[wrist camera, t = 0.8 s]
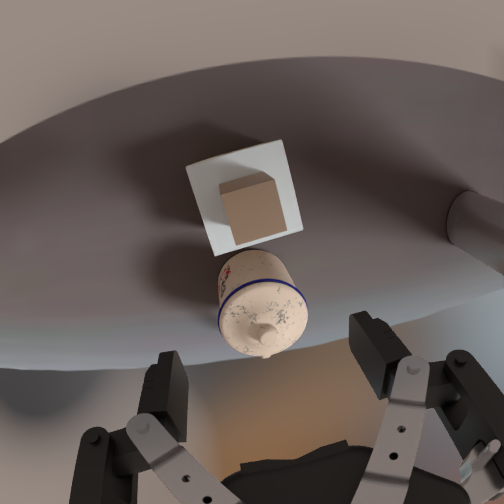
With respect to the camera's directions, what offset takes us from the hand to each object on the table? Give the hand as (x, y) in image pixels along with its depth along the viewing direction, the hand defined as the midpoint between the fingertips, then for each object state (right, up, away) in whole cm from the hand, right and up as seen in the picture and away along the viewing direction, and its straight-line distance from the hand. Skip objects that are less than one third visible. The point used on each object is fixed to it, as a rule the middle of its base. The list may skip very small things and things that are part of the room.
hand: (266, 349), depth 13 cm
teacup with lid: (0, 0, +25) cm, 25 cm away
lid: (-1, +9, +14) cm, 17 cm away
